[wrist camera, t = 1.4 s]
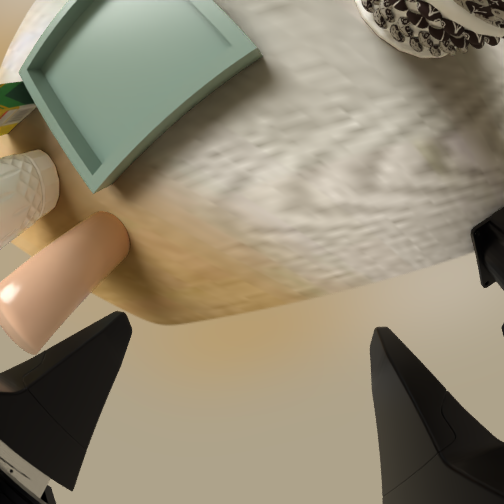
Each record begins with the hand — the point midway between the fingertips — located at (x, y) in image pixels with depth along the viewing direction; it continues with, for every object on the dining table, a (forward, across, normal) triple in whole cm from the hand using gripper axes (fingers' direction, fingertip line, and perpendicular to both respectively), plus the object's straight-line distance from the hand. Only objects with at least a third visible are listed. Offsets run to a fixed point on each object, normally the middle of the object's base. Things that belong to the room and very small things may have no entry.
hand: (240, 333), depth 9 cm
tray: (+12, +10, -13) cm, 21 cm away
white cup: (+12, +23, -4) cm, 26 cm away
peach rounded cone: (+12, +15, +2) cm, 19 cm away
